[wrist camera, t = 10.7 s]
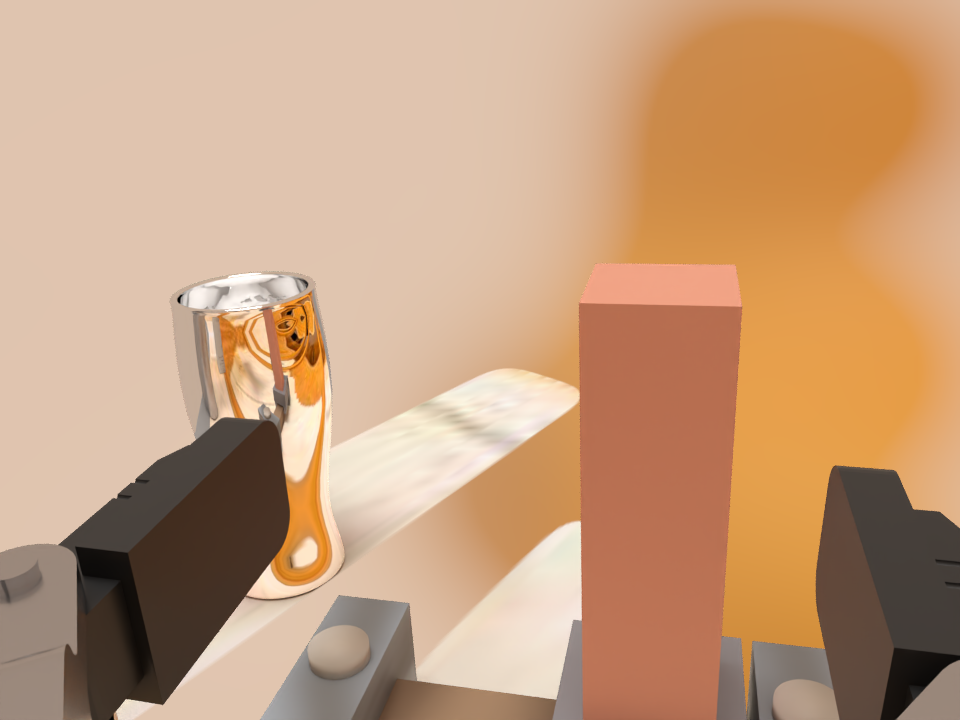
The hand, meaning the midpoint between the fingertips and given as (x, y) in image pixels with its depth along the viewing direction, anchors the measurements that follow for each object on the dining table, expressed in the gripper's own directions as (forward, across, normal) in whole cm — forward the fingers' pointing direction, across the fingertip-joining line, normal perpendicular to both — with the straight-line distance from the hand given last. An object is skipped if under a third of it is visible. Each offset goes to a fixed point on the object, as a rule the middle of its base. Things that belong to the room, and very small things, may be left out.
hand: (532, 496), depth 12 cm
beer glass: (+23, +17, +20) cm, 35 cm away
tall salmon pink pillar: (+12, -2, +18) cm, 21 cm away
